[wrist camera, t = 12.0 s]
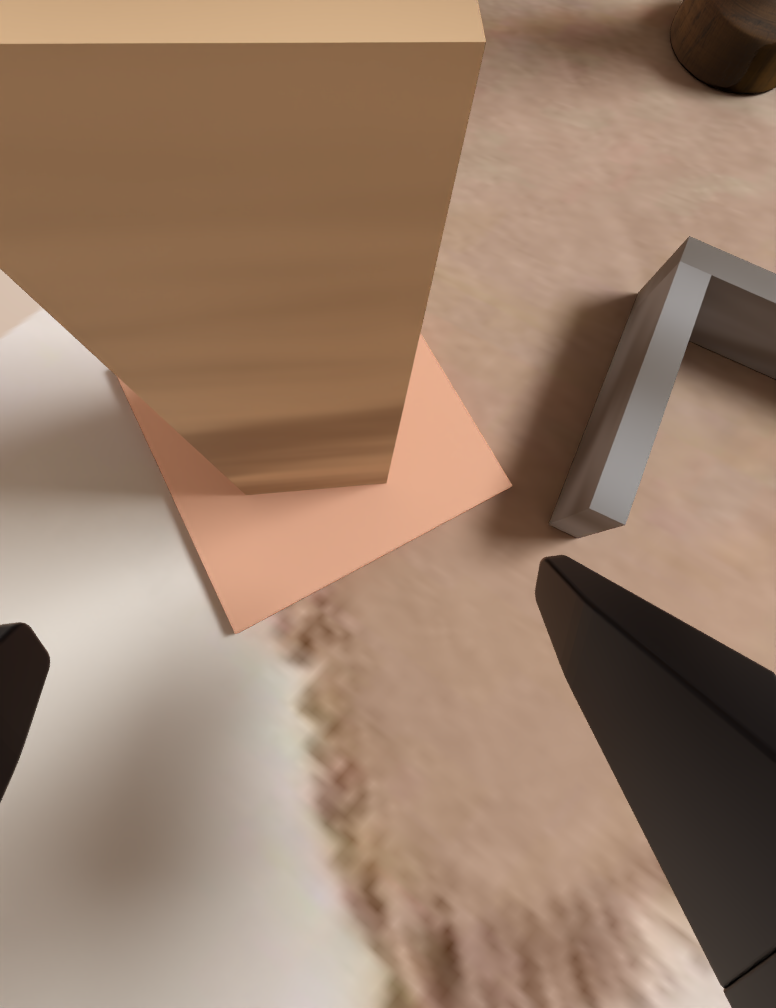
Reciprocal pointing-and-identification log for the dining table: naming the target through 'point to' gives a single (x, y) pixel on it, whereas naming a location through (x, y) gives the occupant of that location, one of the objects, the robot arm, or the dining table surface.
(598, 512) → the nook
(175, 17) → the block
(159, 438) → the mat
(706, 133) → the dining table surface
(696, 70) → the mortar and pestle
